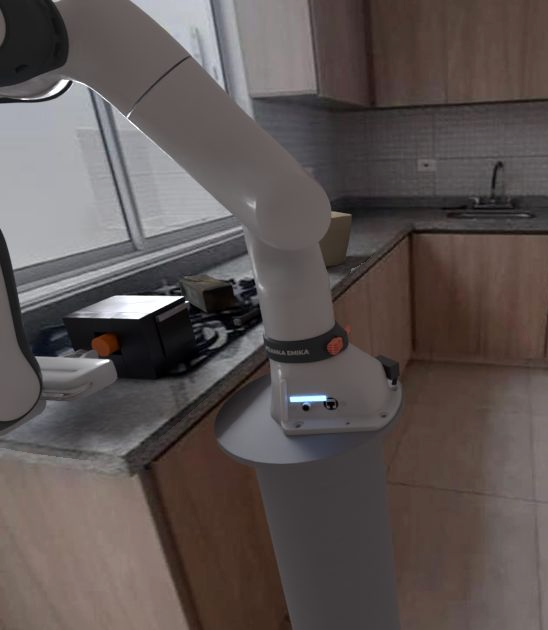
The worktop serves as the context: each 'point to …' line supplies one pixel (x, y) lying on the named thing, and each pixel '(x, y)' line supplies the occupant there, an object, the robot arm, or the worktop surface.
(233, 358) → the worktop surface
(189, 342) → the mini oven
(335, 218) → the flower pot
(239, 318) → the knife
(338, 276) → the worktop surface
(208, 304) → the beverage carton
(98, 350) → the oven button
